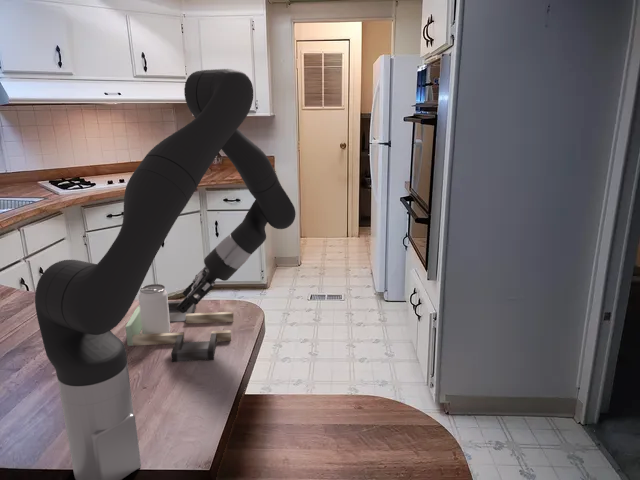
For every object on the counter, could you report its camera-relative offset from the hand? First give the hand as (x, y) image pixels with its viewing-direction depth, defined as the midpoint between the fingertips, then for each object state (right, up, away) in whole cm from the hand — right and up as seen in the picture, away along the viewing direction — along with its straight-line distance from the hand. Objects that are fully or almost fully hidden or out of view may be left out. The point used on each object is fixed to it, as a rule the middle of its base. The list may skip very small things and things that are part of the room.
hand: (182, 302), depth 111 cm
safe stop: (-12, -8, +1) cm, 14 cm away
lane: (0, -7, +2) cm, 8 cm away
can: (-7, -8, +1) cm, 10 cm away
